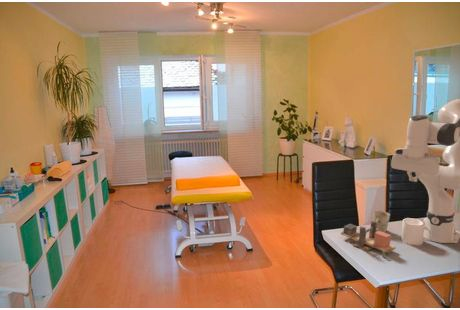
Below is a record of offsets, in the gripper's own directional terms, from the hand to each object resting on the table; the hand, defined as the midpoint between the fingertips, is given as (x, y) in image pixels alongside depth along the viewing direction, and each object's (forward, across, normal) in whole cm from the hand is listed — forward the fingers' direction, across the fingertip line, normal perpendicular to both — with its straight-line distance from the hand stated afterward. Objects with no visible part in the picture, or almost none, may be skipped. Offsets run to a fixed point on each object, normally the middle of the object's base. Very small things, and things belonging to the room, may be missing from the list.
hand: (413, 181), depth 161 cm
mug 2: (+37, +4, -18) cm, 42 cm away
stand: (+37, +14, +4) cm, 40 cm away
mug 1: (+37, +22, -16) cm, 46 cm away
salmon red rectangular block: (+34, +10, +4) cm, 36 cm away
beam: (+35, +18, +4) cm, 40 cm away
